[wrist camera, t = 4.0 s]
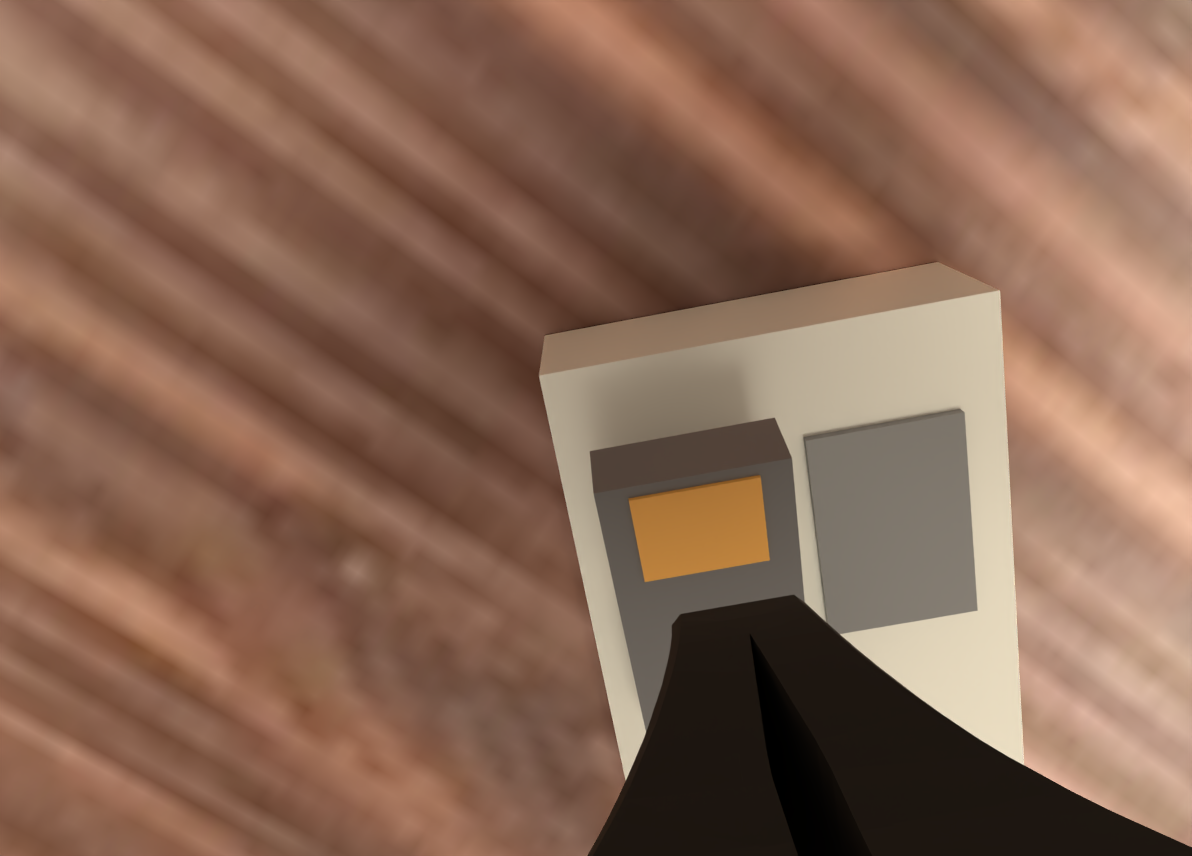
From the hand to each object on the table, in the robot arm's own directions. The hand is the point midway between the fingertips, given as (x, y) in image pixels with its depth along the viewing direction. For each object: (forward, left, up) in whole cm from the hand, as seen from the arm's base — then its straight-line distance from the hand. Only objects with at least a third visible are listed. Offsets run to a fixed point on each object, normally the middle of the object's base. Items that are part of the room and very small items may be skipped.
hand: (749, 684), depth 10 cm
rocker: (0, -2, -6) cm, 6 cm away
